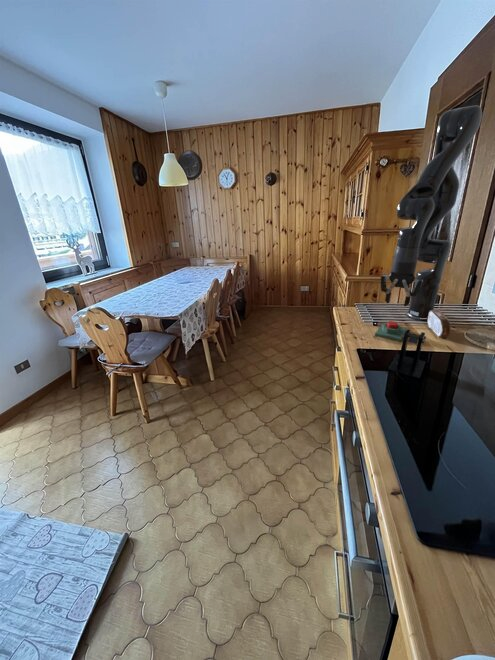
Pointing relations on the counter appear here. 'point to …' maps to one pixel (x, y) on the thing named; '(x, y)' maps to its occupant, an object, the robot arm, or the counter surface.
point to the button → (392, 325)
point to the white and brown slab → (439, 323)
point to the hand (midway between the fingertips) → (396, 303)
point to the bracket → (409, 358)
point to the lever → (414, 338)
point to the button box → (391, 332)
